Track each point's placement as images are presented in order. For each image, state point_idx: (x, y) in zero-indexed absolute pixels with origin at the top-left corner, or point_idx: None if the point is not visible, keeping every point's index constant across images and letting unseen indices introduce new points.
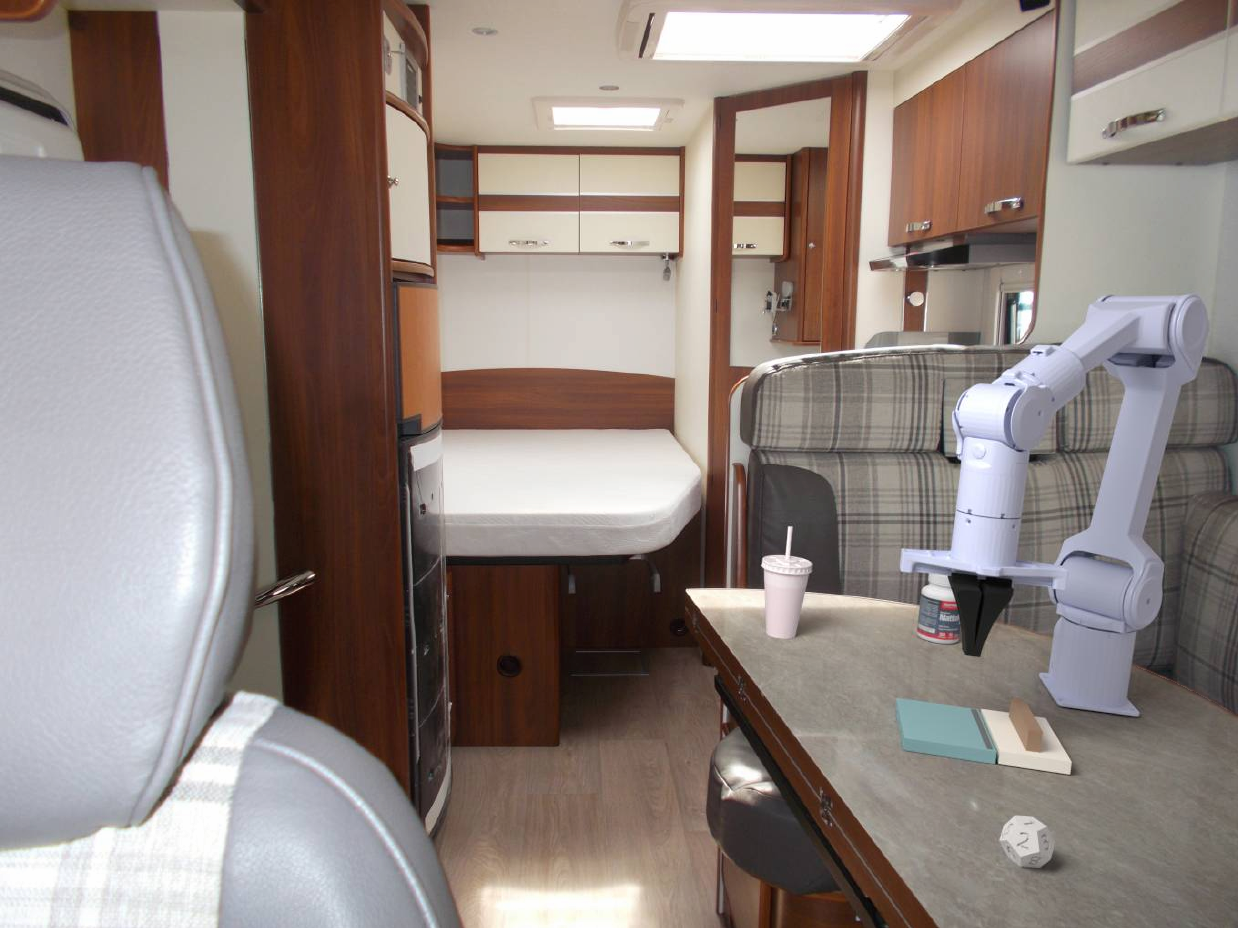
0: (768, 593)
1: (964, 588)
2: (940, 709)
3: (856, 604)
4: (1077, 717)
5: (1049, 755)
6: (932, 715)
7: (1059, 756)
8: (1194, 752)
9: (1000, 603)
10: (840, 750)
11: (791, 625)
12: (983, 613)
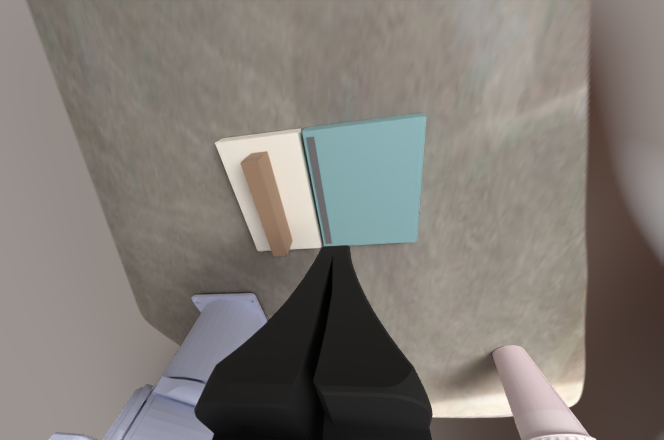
0: (562, 400)
1: (388, 395)
2: (366, 230)
3: None
4: (238, 279)
5: (240, 150)
6: (377, 210)
7: (230, 152)
8: (140, 248)
9: (255, 349)
10: (524, 61)
11: (508, 361)
12: (311, 316)
